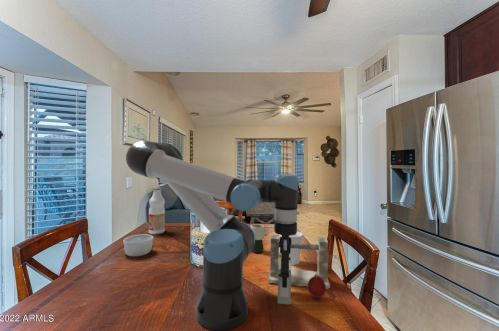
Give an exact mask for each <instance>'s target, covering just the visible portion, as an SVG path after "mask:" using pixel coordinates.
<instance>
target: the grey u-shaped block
mask: <svg viewBox="0 0 499 331" xmlns="http://www.w3.org/2000/svg"><path fill="white" fill-rule="evenodd" d="M291 269H292V265H291V260H289V297H281V296H280V276H278V284H277V304H281V305H289V304H290V305H291V303H292V302H291V300H292V299H291V298H292V296H291V294H292V286H291ZM280 273H281V258H279V268H278V274H280Z"/></svg>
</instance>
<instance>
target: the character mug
mask: <svg viewBox="0 0 499 331" xmlns="http://www.w3.org/2000/svg"><path fill="white" fill-rule="evenodd" d="M250 227H251V228H252V230H253V232H254V234H255V244H254V248H253V250H252V252H253V253H262V252H264V250H265V249H264V241H263V240H264V239H265V237H269V229H266V227H265V224H260V223H253V224H251V225H250Z"/></svg>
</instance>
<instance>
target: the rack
mask: <svg viewBox="0 0 499 331" xmlns="http://www.w3.org/2000/svg"><path fill="white" fill-rule="evenodd" d="M279 239H280V234H271V236H270V257H269V258H270V259H269V261H270V262H269V267H270V268H269V272H268V273H269V274H268V279H267V280H268V281H267V283H268V284H270V283H274V284H273V285H278V268H279V259H280V244H279ZM291 248H295V249H301V250H312V251H317V264H316V268H317V269H316V270H317V271H313V270H303V269H302V270H301V269H292V268H291V285H298V286H297V287H301V286H308V282H309V280H310V279H311V278H312V277H314V276H315V274H317V275H318V276H319V277H320V278H322V280H323V281H324V283H325V285H326V288H330V289H331V285H330V284H331V283H330V281H329V279H328V271H329V270H328V265H329V264H328V263H329V242H328V239H327V238H326V237H317V244H315V243H314V244H311V243H302V244H301V243H291Z"/></svg>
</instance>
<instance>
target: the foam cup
mask: <svg viewBox="0 0 499 331" xmlns="http://www.w3.org/2000/svg"><path fill="white" fill-rule="evenodd" d="M289 237H290V238H291V243H301V244H303V241H304V234H303V233H302V232H301V231H298V230H297V233H296V234H295V235H290V236H289ZM301 250H302V249H295V248H291V252H290V254H289V257H290V258H291V266H296V265H295V264H297V265H299V264H298V263H300V258H301V253H302V252H301Z"/></svg>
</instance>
